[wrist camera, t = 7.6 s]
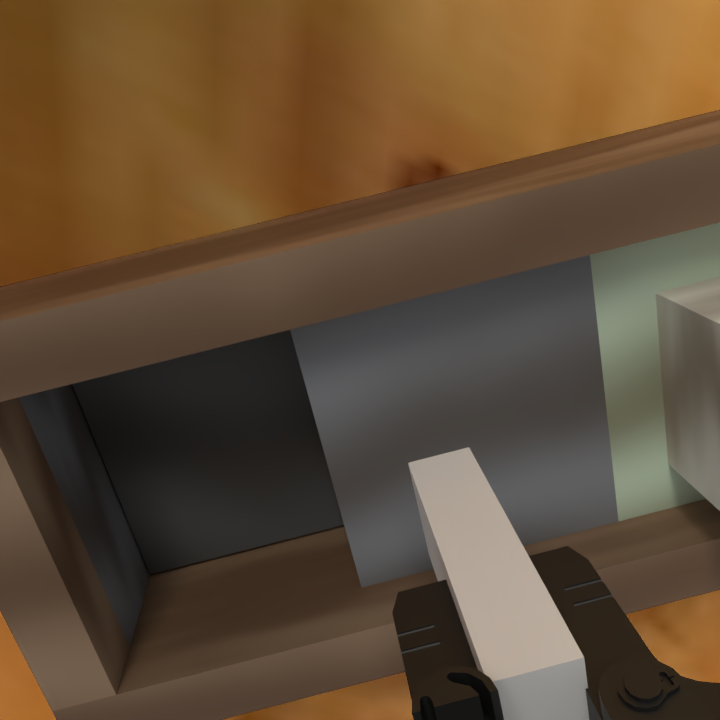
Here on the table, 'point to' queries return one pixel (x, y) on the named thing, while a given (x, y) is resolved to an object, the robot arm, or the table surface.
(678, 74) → the table surface
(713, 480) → the block
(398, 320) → the trap box
